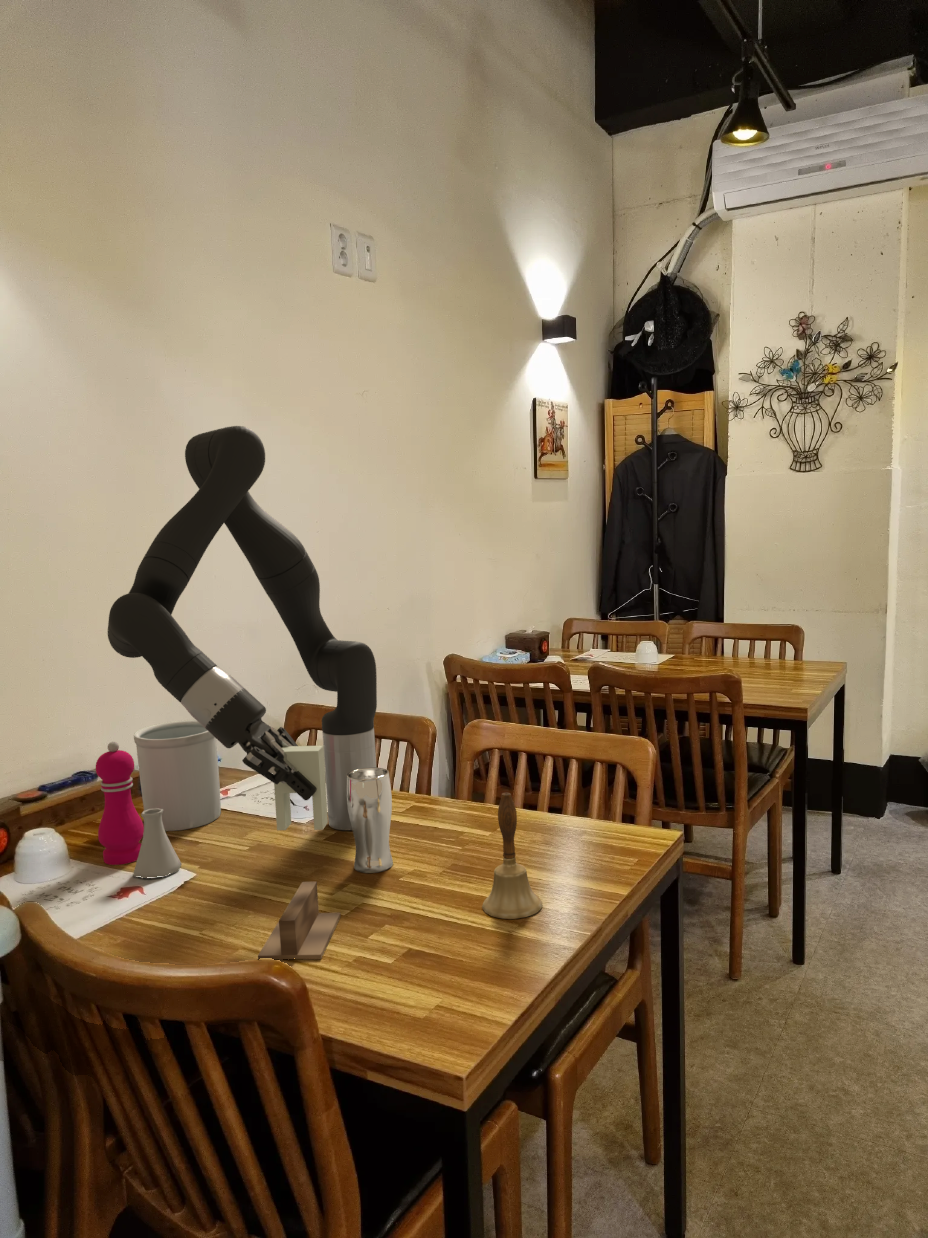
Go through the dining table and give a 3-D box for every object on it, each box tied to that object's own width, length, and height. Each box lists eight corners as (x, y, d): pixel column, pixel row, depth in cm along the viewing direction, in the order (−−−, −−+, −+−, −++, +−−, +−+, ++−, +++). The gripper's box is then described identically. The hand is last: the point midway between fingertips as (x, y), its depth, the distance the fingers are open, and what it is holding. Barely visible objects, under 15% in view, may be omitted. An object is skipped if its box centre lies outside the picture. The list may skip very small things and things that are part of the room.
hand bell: (470, 906, 124) (464, 794, 123) (515, 889, 129) (510, 781, 127) (508, 925, 118) (503, 808, 116) (554, 906, 123) (550, 793, 121)
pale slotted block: (277, 830, 123) (272, 751, 122) (283, 823, 126) (278, 746, 125) (322, 829, 122) (318, 751, 121) (327, 822, 125) (323, 745, 124)
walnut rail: (283, 918, 123) (280, 882, 123) (340, 916, 123) (338, 881, 122) (258, 960, 111) (255, 921, 111) (321, 959, 111) (318, 920, 110)
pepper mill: (155, 852, 152) (145, 737, 150) (126, 868, 145) (115, 748, 143) (121, 849, 154) (110, 735, 152) (91, 864, 148) (79, 746, 146)
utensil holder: (211, 831, 162) (203, 736, 160) (129, 834, 162) (120, 740, 160) (233, 805, 176) (226, 718, 174) (158, 808, 177) (150, 721, 175)
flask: (166, 881, 139) (160, 819, 138) (124, 880, 140) (118, 818, 139) (189, 863, 146) (184, 804, 145) (149, 862, 147) (144, 803, 146)
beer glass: (403, 860, 142) (398, 768, 141) (381, 877, 136) (375, 781, 135) (366, 855, 145) (360, 765, 144) (343, 871, 139) (336, 777, 138)
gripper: (223, 696, 116) (321, 787, 116) (256, 678, 129) (344, 759, 130) (186, 737, 116) (283, 827, 117) (223, 715, 130) (310, 795, 131)
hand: (315, 791), depth 123 cm, fingers closed on pale slotted block, 3 cm apart
